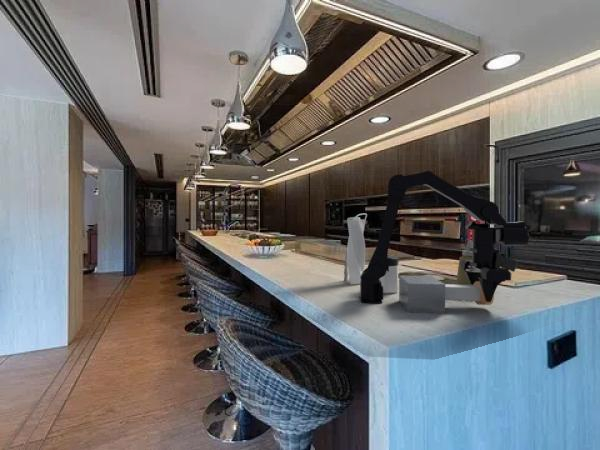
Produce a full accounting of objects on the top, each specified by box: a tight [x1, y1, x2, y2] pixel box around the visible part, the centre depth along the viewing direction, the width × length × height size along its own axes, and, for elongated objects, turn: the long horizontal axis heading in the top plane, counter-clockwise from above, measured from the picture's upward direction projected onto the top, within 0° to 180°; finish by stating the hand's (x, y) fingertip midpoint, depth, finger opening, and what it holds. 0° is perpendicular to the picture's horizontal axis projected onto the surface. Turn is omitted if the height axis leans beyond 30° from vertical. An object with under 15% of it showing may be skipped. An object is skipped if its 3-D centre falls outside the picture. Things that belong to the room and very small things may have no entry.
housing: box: [398, 274, 446, 314], centre depth 95 cm, size 10×12×8 cm
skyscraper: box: [343, 212, 368, 286], centre depth 127 cm, size 8×8×28 cm
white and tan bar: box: [444, 281, 495, 306], centre depth 93 cm, size 14×7×7 cm, turn 84°
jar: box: [379, 255, 400, 294], centre depth 114 cm, size 9×8×12 cm
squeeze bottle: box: [456, 240, 473, 285], centre depth 113 cm, size 8×8×18 cm
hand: (482, 298), depth 93 cm, fingers closed on white and tan bar, 7 cm apart
